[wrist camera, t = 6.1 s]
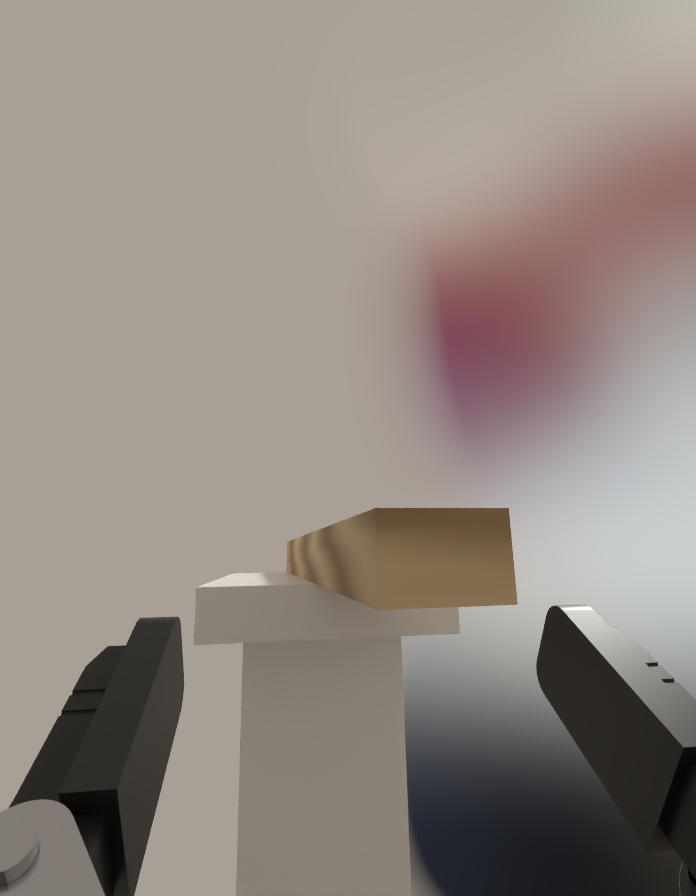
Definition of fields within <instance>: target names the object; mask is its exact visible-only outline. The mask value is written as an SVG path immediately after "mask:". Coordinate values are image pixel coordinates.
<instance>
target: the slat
mask: <svg viewBox="0 0 696 896" xmlns="http://www.w3.org/2000/svg"><path fill="white" fill-rule="evenodd" d="M287 572H288V573H290V574H293V575H295V576H298V577H300V578H302V579H305V580H307V581H310V582H312V583H314V584H317V585H319V586H321V587H324V588H326V589H329V590H331V591H333V592H336V593H338V594H341V595H343V596H345V597H348V598H350V599H352V600H355V601H357V602H360V603H362V604H364V605H367V606H369V607H372V608H374V609H376V610H399V609H422V608H445V607H469V606H491V605H515V604H517V594H516V584H515V573H514V561H513V551H512V541H511V529H510V518H509V508H374V509H372V510H369V511H367V512H364V513H361V514H359V515H356V516H354V517H351V518H349V519H346V520H343V521H340V522H338V523H335V524H333V525H330V526H328V527H325V528H322V529H320V530H317V531H314V532H312V533H309V534H307V535H304V536H302V537H299V538H296V539H294V540H291V541H288V542H287Z"/></svg>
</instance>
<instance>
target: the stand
mask: <svg viewBox="0 0 696 896" xmlns="http://www.w3.org/2000/svg"><path fill="white" fill-rule="evenodd" d="M194 631H195V632H194V645H206V644H227V643H228V644H229V643H243V669H242V670H243V672H242V706H241V740H240V741H241V742H240V776H239V777H240V778H239V812H238V813H239V814H238V847H237V848H238V849H237V883H236V896H411V877H410V851H409V828H408V801H407V777H406V753H405V728H404V727H405V726H404V701H403V678H402V653H401V636H416V635H439V634H459V633H460V630H459V614H458V607H445V608H422V609H399V610H376V609H374V608H372V607H369V606H367V605H364V604H362V603H360V602H357V601H355V600H352V599H350V598H348V597H345V596H343V595H341V594H338V593H336V592H333V591H331V590H329V589H326V588H324V587H321V586H319V585H317V584H314V583H312V582H310V581H307V580H305V579H302V578H300V577H298V576H295V575H293V574H290V573H288V572H281V573H241V574H240V573H239V574H238V573H237V574H231V575H228V576H226V577H223V578H221V579H218V580H215V581H212V582H209V583H207V584H205V585H201V586H199V587H197V591H196V611H195V630H194Z"/></svg>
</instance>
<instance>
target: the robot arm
mask: <svg viewBox="0 0 696 896" xmlns="http://www.w3.org/2000/svg"><path fill="white" fill-rule="evenodd" d="M537 676H538V680H539V683H540V686H541V689H542V691H543V693H544V694H545V696H546V698H547V699H548V701H549V702H550V704H551V705H552V706H553V708H554V710H555V711H556V713H557V714H558V716H559V718H560V719H561V721H562V722H563V724H564V725H565V727H566V728H567V730H568V731H569V733H570V735H571V736H572V738H573V739H574V741H575V742H576V744H577V745H578V747H579V748H580V750H581V751H582V753H583V755H584V756H585V758H586V759H587V761H588V762H589V764H590V765H591V767H592V768H593V770H594V771H595V773H596V775H597V776H598V778H599V779H600V781H601V782H602V784H603V785H604V787H605V788H606V790H607V792H608V793H609V795H610V796H611V798H612V799H613V801H614V802H615V804H616V805H617V807H618V808H619V810H620V812H621V813H622V815H623V816H624V818H625V819H626V821H627V822H628V824H629V825H630V827H631V828H632V830H633V832H634V833H635V835H636V836H637V838H638V839H639V841H640V842H641V844H642V846H643V847H644V848H645V850H646V852H647V853H651V852H660V851H668V850H675V851H676V852H677V854H678V855H679V856H680V858H681V859H682V861H683V864H682V866H681V869H680V873H679V883H680V896H696V700H695V699H694V698H693V697H692V696H691V695H690V694H689V693H688V692H687V691H686V690H685V689H684V688H683V687H682V686H681V685H680V684H679V683H675V682H674V678H673V677H672V676H671V675H670V674H669V673H668V672H667V671H666V670H665V669H664V668H663V667H662V666H658V663H657V661H656V660H655V659H653V657H652V656H650V655H649V653H648V652H646V650H645V649H644V648H643V647H642V646H640V645H639V644H638V643H637V642H635V641H634V640H632V639H631V638H629V637H627V636H626V635H624V634H622V633H621V632H620V631H618V630H616V629H615V628H610V627H609V626H608V624H607V623H606V622H605V621H604V620H602V618H601V617H600V616H599V615H598V614H597V613H596V612H595V611H594V610H593V609H592V608H590V607H589V606H587V605H563V606H552V607H551V608H549V610H548V612H547V615H546V620H545V625H544V630H543V634H542V639H541V644H540V648H539V653H538V658H537ZM183 691H184V671H183V655H182V637H181V623H180V619H179V617H155V618H140V619H139V620H138V621H137V623H136V625H135V627H134V629H133V631H132V634H131V636H130V638H129V640H128V642H127V645H126V646H108V647H107V648H105V649H104V651H102V652H101V653H100V654H99V655H98V656H97V657H96V658H94V659H93V661H91V662H90V663H89V664H88V665H87V666H86V667H85V669H84V671H83V672H82V674H81V676H80V678H79V680H78V682H77V684H76V686H75V688H74V689H73V693H72V695H71V696H69V698H68V700H67V702H66V704H65V706H64V708H63V709H62V714H61V716H59V717H58V719H57V721H56V723H55V724H54V726H53V728H52V730H51V732H50V733H49V735H48V737H47V739H46V741H45V743H44V745H43V746H42V748H41V750H40V752H39V754H38V756H37V757H36V760H35V761H34V763H33V765H32V767H31V769H30V771H29V772H28V774H27V776H26V778H25V780H24V782H23V783H22V785H21V787H20V789H19V791H18V793H17V795H16V796H15V798H14V800H13V802H12V803H11V805H10V806H9V808H8V809H6V810H4V811H2V812H0V896H134V894H135V890H136V886H137V882H138V878H139V873H140V870H141V866H142V862H143V858H144V854H145V850H146V846H147V842H148V838H149V835H150V830H151V826H152V823H153V819H154V815H155V811H156V807H157V802H158V799H159V795H160V791H161V787H162V783H163V779H164V775H165V771H166V767H167V763H168V759H169V756H170V751H171V747H172V744H173V740H174V736H175V732H176V728H177V724H178V720H179V716H180V712H181V707H182V701H183Z"/></svg>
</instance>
